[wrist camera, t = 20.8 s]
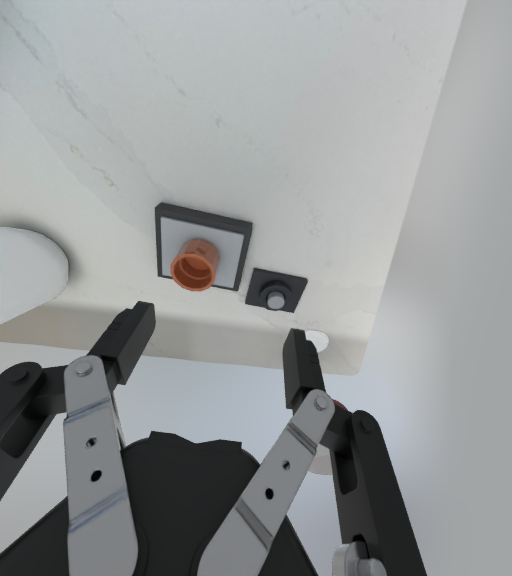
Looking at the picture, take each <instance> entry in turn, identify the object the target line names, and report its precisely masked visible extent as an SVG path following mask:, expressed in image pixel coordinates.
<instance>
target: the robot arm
mask: <svg viewBox="0 0 512 576" xmlns="http://www.w3.org/2000/svg"><path fill="white" fill-rule="evenodd" d="M155 324H156V320H155V309H154V304H153V303H148V302H142V301H138V302H137V303H136V305H135V306H134V308H133V309H125V310H124V311H122V312H121V313H119V314H118V315H117V316H116V317H115V319H114V320H113V321H112V324H110V325H109V327H108V328H107V330H106V331H105V332H104V333H103V334H102V336H101V337H100V338H99V340H98V341H97V342H96V344H95V345H94V346H93V348H92V349H91V350H90V352H89V353H88V354H87V355H86V356H83V357H80V358H78V359H76V360H74V361H73V362H71V363H70V364H69V365H65V366H58V367H50V368H42V367H41V366H40V365H39V364H38V363H35V362H23V363H20V364H16V365H14V366H12V367H10V368H8V369H6V370H5V371H4V372H2V373H1V374H0V501H1V499H2V497H3V496H4V494H5V493H6V491H7V489H8V488H9V487H10V485H11V484H12V482H13V480H14V479H15V477H16V476H17V474H18V473H19V471H20V470H21V468H22V467H23V465H24V463H25V462H26V460H27V459H28V457H29V456H30V454H31V453H32V451H33V450H34V448H35V446H36V445H37V443H38V442H39V440H40V439H41V437H42V436H43V434H44V432H45V431H46V429H47V428H48V426H49V425H50V423H51V422H52V420H53V419H54V417H55V415H56V414H59V413H64V412H67V417H66V419H64V422H63V429H64V430H63V431H64V446H65V461H66V476H67V492H68V496H67V497H66V498H64V499H63V500H62V501H61V502H60V503H59V504H58V505H56V506H55V507H54V508H53V509H52V510H50V511H49V512H48V513H47V514H46V515H45V516H44V517H42V518H41V519H40V520H39V521H38V522H37V523H35V524H34V525H33V526H32V527H31V528H29V529H28V530H27V531H26V532H25V533H24V534H22V536H20V537H19V538H18V539H17V540H16V541H14V542H13V543H12V544H11V545H10V546H9V547H8V548H6V549H5V550H4V551H3V552H2V553H0V576H318V574H317V572H316V570H315V568H314V566H313V565H312V562H311V560H310V559H309V557H308V555H307V553H306V551H305V549H304V547H303V545H302V543H301V541H300V540H299V537H298V536H297V534H296V532H295V530H294V528H293V526H292V524H291V522H290V520H289V518H288V516H287V514H286V513H287V511H288V509H289V507H290V505H291V503H292V501H293V499H294V497H295V495H296V493H297V491H298V489H299V487H300V485H301V483H302V481H303V479H304V477H305V475H306V473H307V471H308V469H309V467H310V465H311V463H312V461H313V459H314V457H315V455H316V452H317V450H316V448H317V446H318V444H320V445H322V446H324V447H326V448H328V449H329V452H330V459H331V466H332V474H333V481H334V487H335V495H336V502H337V509H338V516H339V524H340V531H341V538H342V545H340V546H338V547H337V548H336V550H335V552H334V555H333V562H332V571H333V573H332V576H427V574H426V571H425V568H424V564H423V562H422V558H421V555H420V552H419V549H418V546H417V542H416V539H415V536H414V533H413V530H412V527H411V523H410V521H409V517H408V514H407V511H406V508H405V505H404V501H403V498H402V495H401V492H400V489H399V486H398V482H397V479H396V476H395V473H394V470H393V467H392V464H391V460H390V457H389V454H388V451H387V448H386V444H385V441H384V438H383V435H382V432H381V429H380V427H379V424H378V422H377V421H376V420H375V418H374V417H373V416H372V415H370V414H369V413H367V412H365V411H362V410H357V411H355V412H354V413H351V412H349V411H347V410H345V409H343V408H341V407H339V406H338V405H336V404H335V403H334V402H333V400H332V399H331V397H330V396H329V395H328V394H327V393H326V390H325V386H324V381H323V377H322V372H321V368H320V365H319V358H318V354H317V349H316V347H315V345H314V344H313V342H312V341H310V340H306V335H305V331H304V330H299V329H293V328H291V330H290V332H289V334H288V336H287V339H286V341H285V343H284V346H283V367H284V383H285V397H286V408H287V409H292V410H293V417H292V418H291V420H290V421H289V423H288V424H287V426H286V427H285V429H284V430H283V432H282V433H281V435H280V436H279V437H278V439H277V441H276V442H275V443H274V445H273V446H272V448H271V449H270V451H269V452H268V454H267V456H266V457H265V458H264V460H263V461H262V463H261V464H259V463H258V461H257V460H256V459H255V458H254V457H253V456H252V455H251V454H250V453H248V452H247V451H245V450H243V449H241V445H242V442H236V441H228V440H215V441H209V442H203V443H193V442H191V441H189V440H186V439H184V438H182V437H180V436H178V435H176V434H172V433H163V432H156V431H151V434H150V436H149V438H144V439H141V440H138V441H136V442H133V443H131V444H130V445H128V446H126V443H125V439H124V436H123V432H122V428H121V424H120V420H119V416H118V411H117V407H116V402H115V398H114V393H113V391H114V389H115V388H116V386H117V384H121V385H125V384H126V382H127V380H128V378H129V377H130V375H131V373H132V371H133V369H134V367H135V365H136V364H137V362H138V360H139V358H140V356H141V354H142V352H143V351H144V349H145V347H146V345H147V343H148V341H149V339H150V337H151V336H152V334H153V332H154V329H155Z"/></svg>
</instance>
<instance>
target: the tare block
mask: <svg viewBox="0 0 512 576" xmlns="http://www.w3.org/2000/svg"><path fill="white" fill-rule="evenodd" d="M307 282H308V281H307V279H305V278H300V277H295V276H291V275H286V274H281V273H276V272H271V271H266V270H261V269H256V268H254V270H253V274H252V278H251V282H250V286H249V290H248V293H247V297H246V301H245V304H248V305H253V306H259V307H264V308H266V309H268V310H273V311H277V310H281V311H286V312H292V313H294V311H295V309H296V306H297V304H298V302H299V300H300V298H301V295H302V293H303V291H304V289H305V286H306V284H307ZM273 291H278V292H281V293H282V294H283V296H284V305H283V307H281V308H279V309H272V308H270V307H269V306H268V299H267V297H268V295H269V294H270V293H271V292H273Z"/></svg>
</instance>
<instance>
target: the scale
mask: <svg viewBox="0 0 512 576" xmlns="http://www.w3.org/2000/svg"><path fill="white" fill-rule="evenodd" d="M155 223H156V245H157V268H158V277H163V278H169V279H173V277H172V276H171V273H170V265H171V263H172V261H173V260H174V258H175V257H176V255H177V253H178V252H179V250H180V249H181V247H182V246H183V244H184V243H186V242H188V241H190V240H192V239H198V240H204V241H206V242H208V243H210V244H212V245H213V246H214V247H215V248H216V249H217V251H218V253H219V256H220V263H219V268H218V271H217V275H216V278H215V282H214V283H213V284H212V285H211V286H212V287H217V288H222V289H228V290H233V291H238V289H239V285H240V281H241V276H242V272H243V267H244V263H245V259H246V254H247V250H248V245H249V241H250V237H251V232H252V223H249V222H245V221H241V220H236V219H232V218H227V217H223V216H219V215H214V214H210V213H205V212H201V211H197V210H192V209H188V208H183V207H179V206H174V205H170V204H166V203H160V204H159V205H157V206H156V207H155Z"/></svg>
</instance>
